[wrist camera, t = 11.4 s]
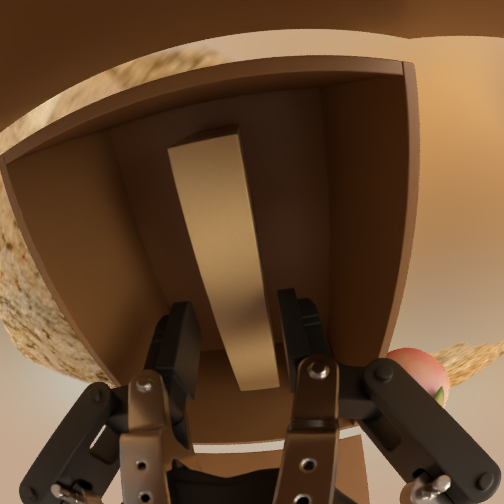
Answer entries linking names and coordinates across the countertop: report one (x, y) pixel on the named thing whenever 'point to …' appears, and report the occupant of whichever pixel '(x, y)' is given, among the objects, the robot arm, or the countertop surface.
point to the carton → (258, 167)
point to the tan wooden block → (227, 249)
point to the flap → (233, 464)
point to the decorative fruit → (424, 371)
